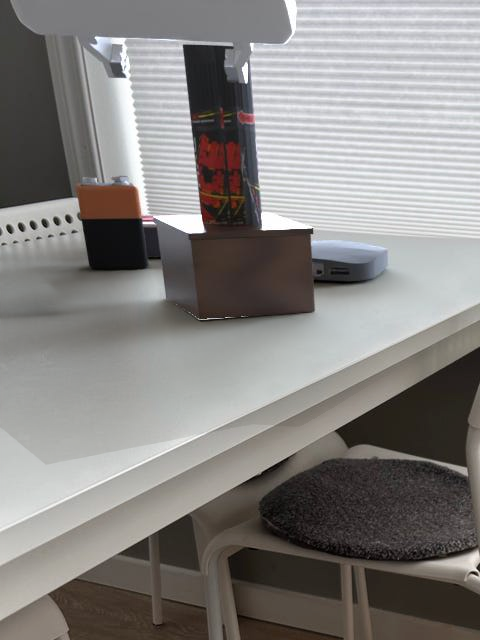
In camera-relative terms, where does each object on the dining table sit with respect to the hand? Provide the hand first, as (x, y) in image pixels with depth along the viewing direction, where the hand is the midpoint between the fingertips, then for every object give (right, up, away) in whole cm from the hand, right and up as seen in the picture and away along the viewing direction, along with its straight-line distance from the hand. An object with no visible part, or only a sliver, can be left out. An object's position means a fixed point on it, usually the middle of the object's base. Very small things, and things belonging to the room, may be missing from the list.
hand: (179, 74), depth 76 cm
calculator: (-17, +7, +52) cm, 56 cm away
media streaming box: (+5, 0, +41) cm, 41 cm away
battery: (-20, 0, +40) cm, 45 cm away
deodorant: (-1, -4, +19) cm, 19 cm away
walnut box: (-1, -11, +23) cm, 25 cm away
